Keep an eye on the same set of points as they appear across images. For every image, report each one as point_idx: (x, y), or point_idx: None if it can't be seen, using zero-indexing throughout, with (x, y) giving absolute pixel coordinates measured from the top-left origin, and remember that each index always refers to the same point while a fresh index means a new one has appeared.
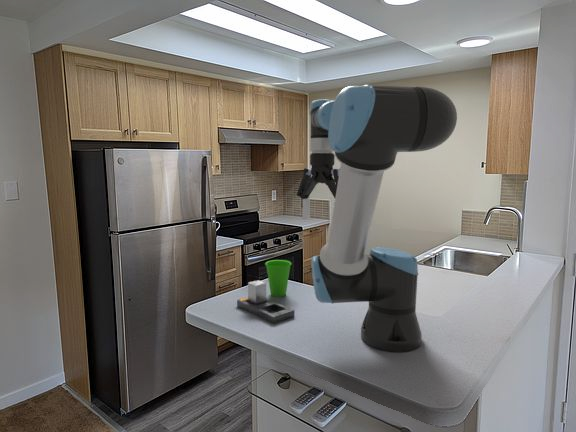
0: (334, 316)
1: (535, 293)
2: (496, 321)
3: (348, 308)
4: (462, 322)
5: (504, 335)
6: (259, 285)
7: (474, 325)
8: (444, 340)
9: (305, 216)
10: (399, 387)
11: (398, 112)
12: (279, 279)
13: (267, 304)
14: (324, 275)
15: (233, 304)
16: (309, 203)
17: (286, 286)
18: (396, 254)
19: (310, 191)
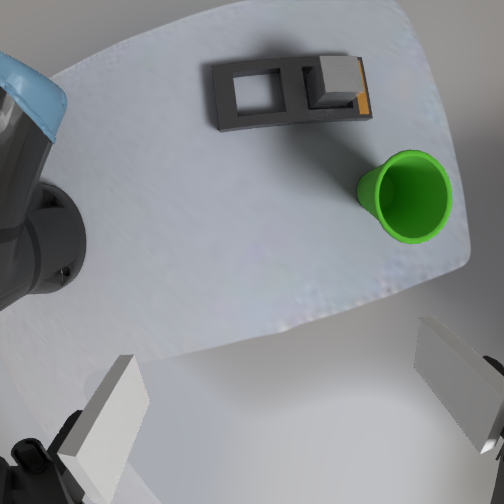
0: (168, 215)
1: None
2: (46, 415)
3: (189, 277)
4: (53, 383)
5: (12, 378)
6: (321, 68)
7: (41, 384)
8: (15, 304)
9: (425, 338)
10: None
11: None
12: (370, 177)
13: (293, 95)
14: None
15: (371, 62)
16: (463, 424)
17: (364, 205)
18: None
19: (497, 497)
